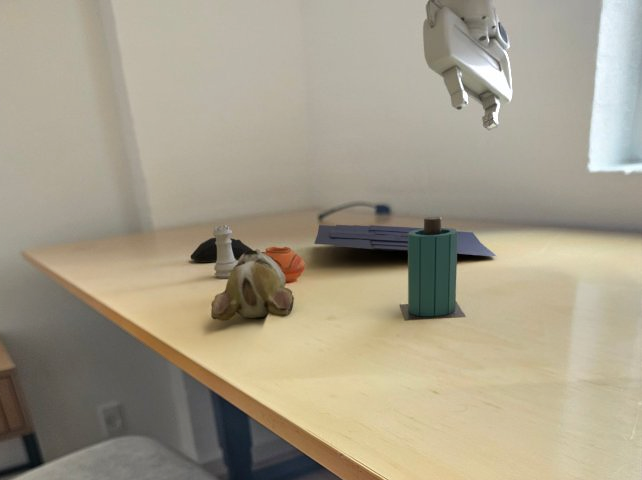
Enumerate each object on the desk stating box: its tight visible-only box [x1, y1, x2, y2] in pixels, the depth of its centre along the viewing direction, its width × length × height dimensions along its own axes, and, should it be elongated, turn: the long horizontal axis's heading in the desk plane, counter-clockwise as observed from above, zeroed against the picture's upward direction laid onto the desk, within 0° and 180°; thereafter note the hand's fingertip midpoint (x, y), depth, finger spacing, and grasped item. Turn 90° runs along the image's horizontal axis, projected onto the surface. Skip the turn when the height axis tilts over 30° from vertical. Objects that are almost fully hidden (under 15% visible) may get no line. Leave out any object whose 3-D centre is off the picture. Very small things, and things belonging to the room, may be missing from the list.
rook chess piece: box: [212, 224, 238, 279], centre depth 109 cm, size 4×4×8 cm
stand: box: [399, 216, 467, 322], centre depth 76 cm, size 7×7×12 cm
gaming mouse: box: [190, 237, 265, 263], centre depth 125 cm, size 6×15×4 cm, turn 97°
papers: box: [314, 224, 497, 257], centre depth 118 cm, size 24×30×4 cm
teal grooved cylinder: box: [407, 227, 458, 317], centre depth 76 cm, size 5×6×9 cm
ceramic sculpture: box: [210, 248, 295, 322], centre depth 86 cm, size 11×9×15 cm
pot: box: [263, 246, 306, 284], centre depth 99 cm, size 8×8×7 cm
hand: (476, 117), depth 95 cm, fingers open, 8 cm apart
